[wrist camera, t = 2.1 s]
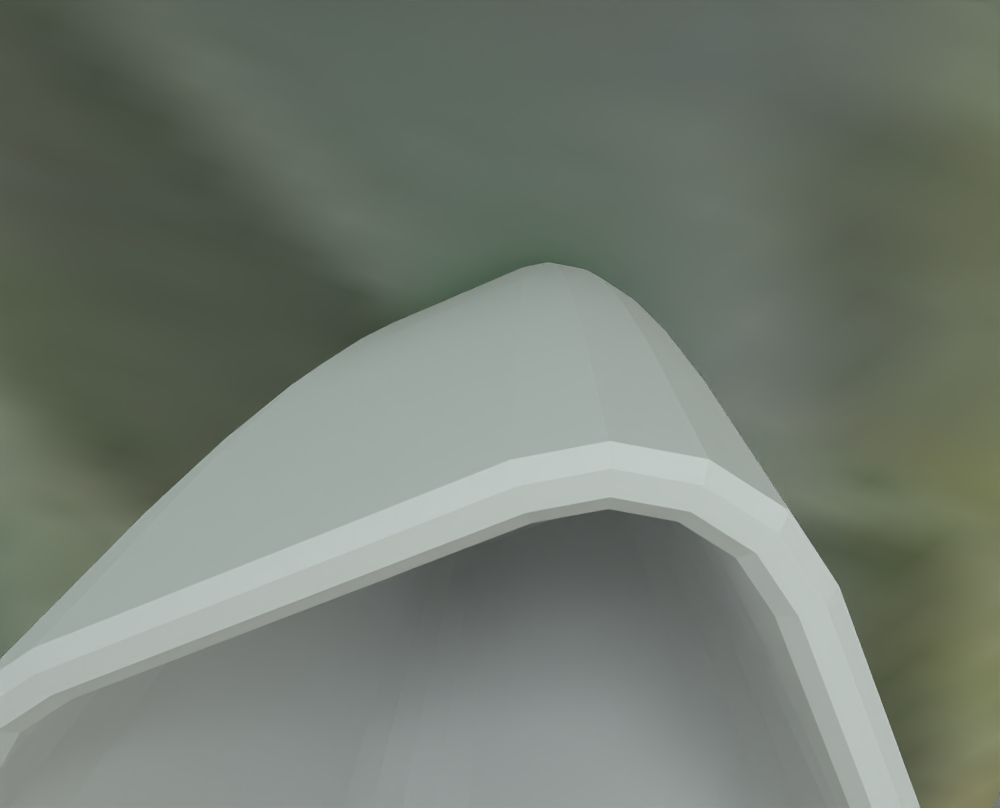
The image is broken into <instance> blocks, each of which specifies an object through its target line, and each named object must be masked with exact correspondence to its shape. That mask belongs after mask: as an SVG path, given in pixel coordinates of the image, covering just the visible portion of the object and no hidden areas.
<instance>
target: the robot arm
mask: <svg viewBox="0 0 1000 808" xmlns="http://www.w3.org/2000/svg"><path fill="white" fill-rule="evenodd" d="M993 808H1000V793H999V795H998V797H997V800H996V802H995V804H994V807H993Z"/></svg>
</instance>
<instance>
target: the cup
mask: <svg viewBox="0 0 1000 808" xmlns="http://www.w3.org/2000/svg"><path fill="white" fill-rule="evenodd" d="M0 808H920V806H919V803H918V800H917V798H916V795H915V792H914V790H913V787H912V784H911V781H910V779H909V776H908V773H907V770H906V768H905V765H904V762H903V760H902V757H901V754H900V751H899V749H898V746H897V743H896V740H895V738H894V735H893V732H892V729H891V727H890V724H889V721H888V719H887V716H886V713H885V710H884V708H883V705H882V702H881V699H880V697H879V694H878V691H877V689H876V686H875V683H874V680H873V678H872V675H871V672H870V669H869V667H868V664H867V661H866V658H865V656H864V653H863V650H862V648H861V645H860V642H859V639H858V637H857V634H856V631H855V628H854V626H853V623H852V620H851V618H850V615H849V612H848V609H847V607H846V604H845V601H844V598H843V596H842V593H841V590H840V587H839V585H838V584H837V582H836V581H835V579H834V578H833V576H832V575H831V573H830V572H829V570H828V568H827V567H826V565H825V564H824V562H823V561H822V559H821V558H820V556H819V555H818V553H817V552H816V550H815V548H814V547H813V545H812V544H811V542H810V541H809V539H808V538H807V536H806V535H805V533H804V532H803V530H802V529H801V527H800V525H799V524H798V522H797V521H796V519H795V518H794V516H793V515H792V513H791V512H790V510H789V509H788V507H787V506H786V504H785V503H784V501H783V500H782V498H781V496H780V495H779V493H778V492H777V490H776V489H775V487H774V486H773V484H772V483H771V481H770V480H769V478H768V477H767V475H766V474H765V472H764V471H763V469H762V468H761V466H760V465H759V463H758V462H757V460H756V459H755V457H754V456H753V454H752V453H751V451H750V450H749V448H748V446H747V445H746V443H745V442H744V440H743V439H742V437H741V436H740V434H739V433H738V431H737V430H736V428H735V427H734V425H733V424H732V422H731V421H730V419H729V418H728V416H727V415H726V413H725V412H724V410H723V409H722V407H721V406H720V404H719V403H718V401H717V399H716V398H715V396H714V395H713V393H712V392H711V390H710V389H709V387H708V386H707V384H706V383H705V381H704V380H703V379H702V377H701V376H700V375H699V373H698V372H697V371H696V369H695V368H694V367H693V366H692V364H691V363H690V362H689V360H688V359H687V358H686V357H685V355H684V354H683V353H682V351H681V350H680V349H679V348H678V346H677V345H676V344H675V342H674V341H673V340H672V339H671V337H670V336H669V335H668V333H667V332H666V331H665V330H664V329H663V328H662V327H661V326H660V325H659V324H658V323H657V322H656V321H655V320H654V319H653V318H652V317H651V316H650V315H649V314H648V313H647V312H646V311H645V310H644V309H643V308H642V307H641V306H640V305H639V304H638V303H637V302H636V301H635V300H634V299H632V298H631V297H629V296H628V295H626V294H625V293H623V292H622V291H620V290H618V289H617V288H615V287H614V286H612V285H611V284H609V283H608V282H606V281H605V280H603V279H602V278H600V277H598V276H597V275H595V274H593V273H591V272H590V271H588V270H586V269H581V268H576V267H571V266H566V265H560V264H555V263H550V262H546V263H541V264H536V265H531V266H527V267H522V268H520V269H518V270H515V271H513V272H510V273H508V274H506V275H503V276H501V277H499V278H496V279H494V280H492V281H489V282H487V283H485V284H482V285H480V286H478V287H475V288H473V289H471V290H468V291H466V292H464V293H461V294H459V295H457V296H454V297H452V298H449V299H447V300H445V301H442V302H440V303H438V304H435V305H433V306H431V307H428V308H426V309H424V310H421V311H419V312H417V313H414V314H412V315H410V316H407V317H405V318H403V319H400V320H398V321H396V322H393V323H391V324H389V325H387V326H385V327H383V328H381V329H379V330H377V331H375V332H373V333H371V334H369V335H368V336H366V337H364V338H362V339H360V340H358V341H357V342H355V343H354V344H352V345H351V346H349V347H347V348H346V349H344V350H343V351H341V352H340V353H338V354H336V355H335V356H333V357H332V358H330V359H329V360H327V361H326V362H324V363H322V364H321V365H319V366H318V367H317V368H315V369H314V370H312V371H311V372H309V373H308V374H306V375H305V376H304V377H302V378H301V379H299V380H298V381H296V382H295V383H293V384H292V385H291V386H289V387H288V388H287V389H286V390H284V391H283V392H282V393H281V394H279V395H278V396H277V397H276V398H275V399H273V400H272V401H271V402H270V403H268V404H267V405H266V406H265V407H263V408H262V409H261V410H260V411H259V412H257V413H256V414H255V415H254V416H252V417H251V418H250V419H249V420H247V421H246V422H245V423H244V424H243V425H241V426H240V427H239V428H238V429H236V430H235V431H234V432H233V433H231V434H230V435H229V436H228V437H227V438H225V439H224V440H223V441H222V442H221V443H220V444H219V445H218V446H217V447H216V448H214V449H213V450H212V451H211V452H210V453H209V454H208V455H207V456H206V457H205V458H204V459H203V460H201V461H200V462H199V463H198V464H197V465H196V466H195V467H194V468H193V469H192V470H191V471H190V472H188V473H187V474H186V475H185V476H184V477H183V478H182V479H181V480H180V481H179V482H178V483H177V484H176V485H174V486H173V487H172V488H171V489H170V490H169V491H168V492H167V493H166V494H165V495H164V496H163V497H161V498H160V499H159V500H158V501H157V502H156V503H155V504H154V505H153V506H152V507H151V508H150V509H148V510H147V511H146V512H145V513H144V514H143V515H142V516H141V517H140V518H139V519H138V520H137V521H136V522H135V523H134V524H133V525H132V526H131V527H130V528H129V529H128V530H127V531H126V532H125V533H124V534H123V535H122V536H121V537H120V538H119V539H118V541H117V542H116V543H115V544H114V545H113V546H112V547H111V548H110V549H109V550H108V551H107V552H106V553H105V554H104V555H103V556H102V557H101V558H100V559H99V560H98V561H97V562H96V563H95V564H94V565H93V566H92V567H91V568H90V569H89V570H88V571H87V572H86V573H85V574H84V575H83V576H82V577H81V578H80V579H79V580H78V581H77V582H76V583H75V584H74V585H73V586H72V587H71V588H70V589H69V590H68V591H67V592H66V593H65V594H64V595H63V596H62V597H61V598H60V599H59V600H58V601H57V602H56V603H55V604H54V605H53V606H52V607H51V608H50V609H49V610H48V611H47V612H46V613H45V614H44V615H43V616H42V617H41V618H40V619H39V620H38V621H37V622H36V623H35V624H34V625H33V626H32V627H31V628H30V629H29V630H28V631H27V632H26V633H25V634H24V635H23V636H22V637H21V638H20V639H19V640H18V641H17V642H16V643H15V644H14V645H13V646H12V647H11V648H10V649H9V650H8V651H7V652H6V654H5V655H4V656H3V657H2V658H1V659H0Z"/></svg>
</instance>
